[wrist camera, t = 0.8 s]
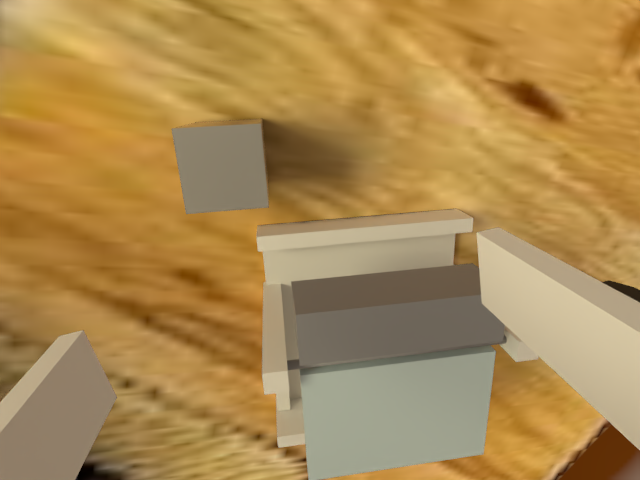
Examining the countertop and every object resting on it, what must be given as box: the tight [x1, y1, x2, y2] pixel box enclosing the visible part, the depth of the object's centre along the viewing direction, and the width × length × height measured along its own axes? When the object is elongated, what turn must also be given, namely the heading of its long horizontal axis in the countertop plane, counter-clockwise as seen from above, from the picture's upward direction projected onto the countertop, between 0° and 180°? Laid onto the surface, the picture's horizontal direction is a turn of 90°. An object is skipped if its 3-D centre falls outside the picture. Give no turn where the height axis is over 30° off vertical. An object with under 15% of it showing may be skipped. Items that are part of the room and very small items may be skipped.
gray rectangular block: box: [172, 119, 269, 214], centre depth 27 cm, size 5×5×8 cm
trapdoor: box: [291, 263, 505, 480], centre depth 27 cm, size 13×14×4 cm
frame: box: [257, 209, 539, 448], centre depth 31 cm, size 18×20×12 cm
